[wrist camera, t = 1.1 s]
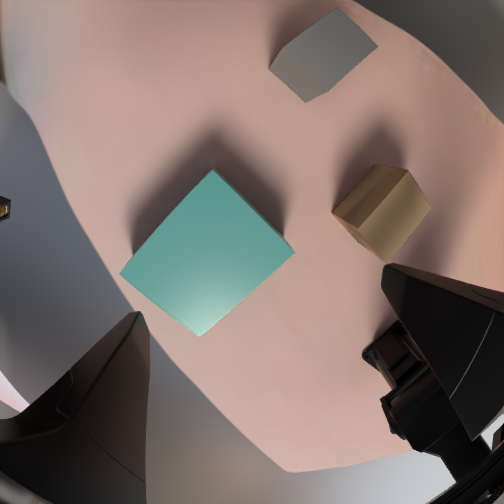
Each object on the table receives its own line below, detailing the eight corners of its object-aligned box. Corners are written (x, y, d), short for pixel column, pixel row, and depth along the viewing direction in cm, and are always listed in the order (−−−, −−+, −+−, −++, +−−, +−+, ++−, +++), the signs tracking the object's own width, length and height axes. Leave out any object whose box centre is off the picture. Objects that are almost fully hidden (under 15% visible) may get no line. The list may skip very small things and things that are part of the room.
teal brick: (282, 235, 23) (294, 252, 19) (201, 310, 25) (199, 337, 21) (213, 166, 20) (212, 169, 17) (133, 254, 22) (119, 274, 18)
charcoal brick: (348, 62, 18) (378, 46, 13) (305, 103, 19) (328, 90, 14) (315, 31, 17) (337, 7, 12) (268, 69, 18) (282, 48, 13)
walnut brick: (398, 196, 23) (431, 208, 18) (357, 242, 24) (385, 262, 19) (374, 164, 21) (408, 170, 17) (330, 212, 22) (357, 228, 18)
